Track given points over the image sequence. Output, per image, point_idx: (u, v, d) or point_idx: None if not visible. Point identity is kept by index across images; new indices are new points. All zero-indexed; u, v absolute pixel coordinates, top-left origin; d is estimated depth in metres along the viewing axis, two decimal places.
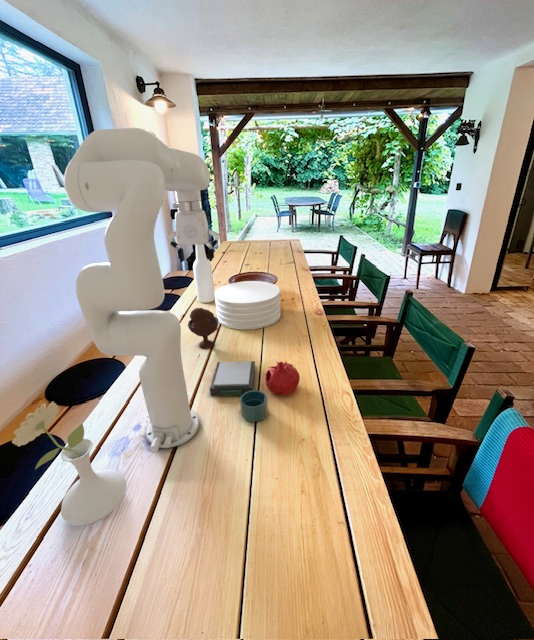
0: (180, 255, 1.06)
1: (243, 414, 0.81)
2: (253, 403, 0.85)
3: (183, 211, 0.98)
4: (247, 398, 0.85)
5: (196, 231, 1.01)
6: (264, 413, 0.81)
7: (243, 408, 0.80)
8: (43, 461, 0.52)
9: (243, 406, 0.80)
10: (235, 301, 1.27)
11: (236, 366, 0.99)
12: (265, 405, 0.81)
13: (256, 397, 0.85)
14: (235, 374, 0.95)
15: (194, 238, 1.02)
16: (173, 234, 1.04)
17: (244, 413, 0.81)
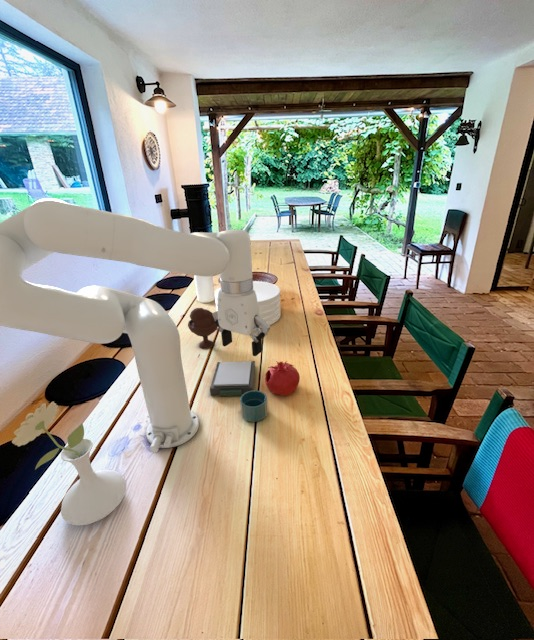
0: (223, 338, 0.82)
1: (243, 414, 0.81)
2: (253, 403, 0.85)
3: (223, 292, 0.73)
4: (247, 398, 0.85)
5: (237, 318, 0.75)
6: (264, 413, 0.81)
7: (243, 408, 0.80)
8: (43, 461, 0.52)
9: (243, 406, 0.80)
10: None
11: (236, 366, 0.99)
12: (265, 405, 0.81)
13: (256, 397, 0.85)
14: (235, 374, 0.95)
15: (235, 326, 0.76)
16: None
17: (244, 413, 0.81)
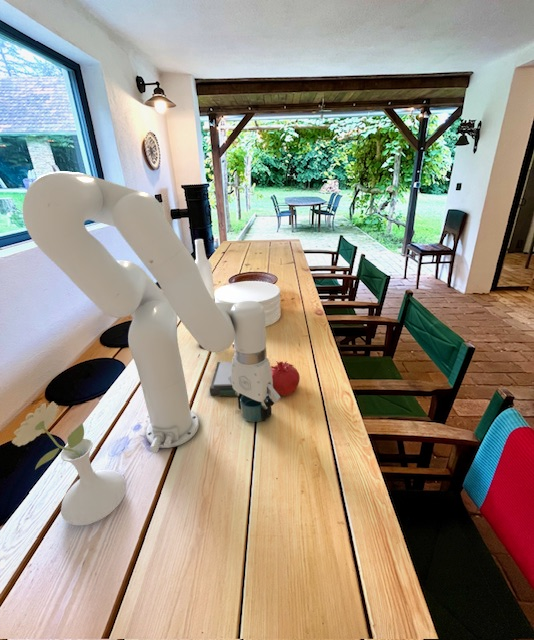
0: (239, 402, 0.84)
1: (243, 414, 0.81)
2: (253, 403, 0.85)
3: (237, 361, 0.75)
4: (247, 398, 0.85)
5: (250, 385, 0.76)
6: None
7: (243, 408, 0.80)
8: (43, 461, 0.52)
9: (243, 406, 0.80)
10: (235, 301, 1.27)
11: None
12: None
13: None
14: None
15: (248, 391, 0.78)
16: None
17: (244, 413, 0.81)
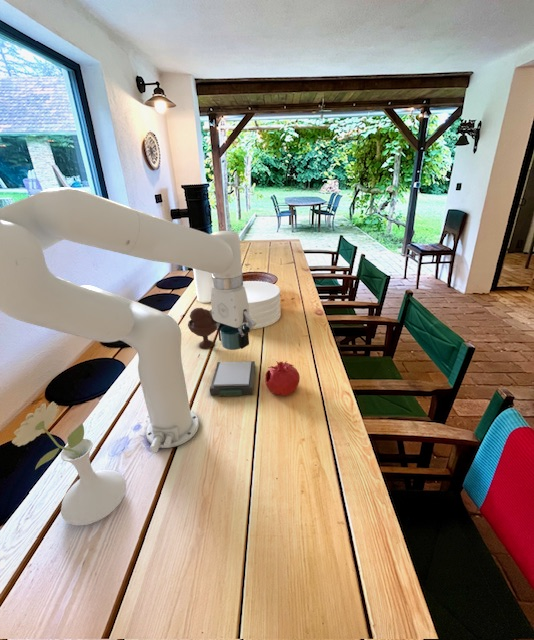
0: (219, 334, 0.89)
1: (222, 343, 0.87)
2: None
3: (215, 288, 0.80)
4: (227, 331, 0.90)
5: (228, 312, 0.82)
6: None
7: (222, 336, 0.86)
8: (43, 461, 0.52)
9: (222, 334, 0.86)
10: None
11: (236, 366, 0.99)
12: None
13: (236, 330, 0.91)
14: (235, 374, 0.95)
15: (226, 319, 0.83)
16: None
17: (223, 341, 0.86)
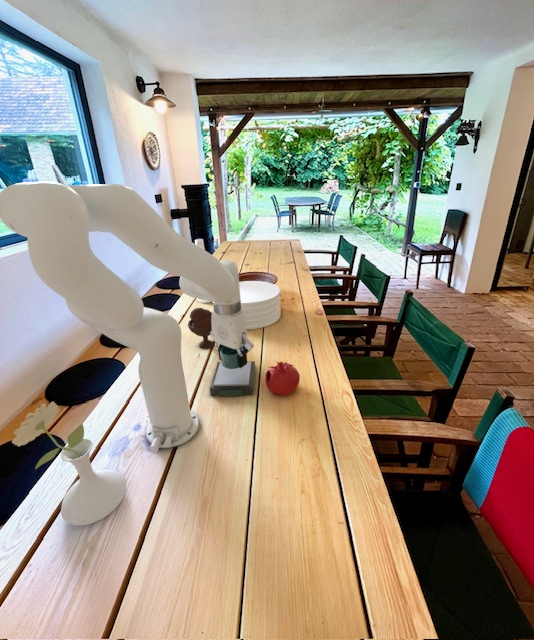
0: (219, 353, 0.95)
1: (222, 362, 0.93)
2: (232, 355, 0.97)
3: (215, 313, 0.86)
4: (227, 350, 0.96)
5: (227, 335, 0.88)
6: None
7: (222, 356, 0.92)
8: (43, 461, 0.52)
9: (222, 355, 0.92)
10: None
11: None
12: None
13: (235, 349, 0.97)
14: (235, 374, 0.95)
15: (226, 341, 0.89)
16: None
17: (223, 361, 0.92)
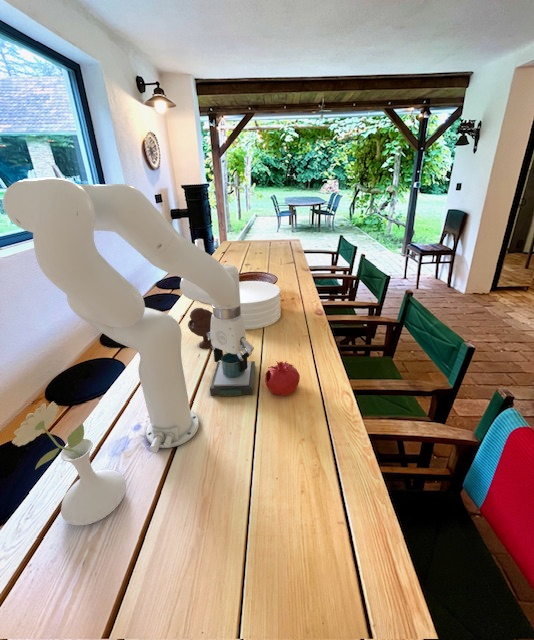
0: (214, 355, 0.95)
1: (223, 370, 0.94)
2: (233, 363, 0.98)
3: (214, 317, 0.86)
4: (227, 358, 0.97)
5: (226, 339, 0.88)
6: None
7: (223, 365, 0.93)
8: (43, 461, 0.52)
9: (223, 363, 0.93)
10: None
11: None
12: None
13: (235, 358, 0.98)
14: None
15: (224, 345, 0.89)
16: None
17: (224, 369, 0.93)
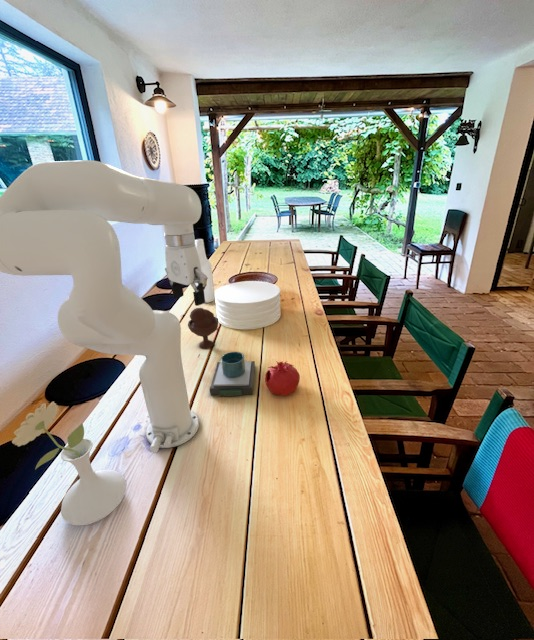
0: (173, 291, 0.93)
1: (223, 370, 0.94)
2: (233, 363, 0.98)
3: (166, 245, 0.84)
4: (227, 358, 0.97)
5: (179, 269, 0.85)
6: (241, 370, 0.94)
7: (223, 365, 0.93)
8: (43, 461, 0.52)
9: (223, 363, 0.93)
10: (235, 301, 1.27)
11: None
12: (242, 363, 0.93)
13: (235, 358, 0.98)
14: None
15: (178, 277, 0.86)
16: None
17: (224, 369, 0.93)
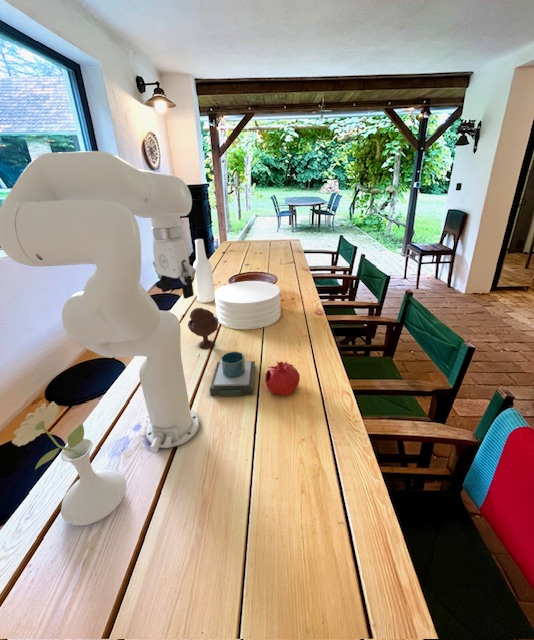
0: (161, 285, 0.93)
1: (223, 370, 0.94)
2: (233, 363, 0.98)
3: (154, 238, 0.84)
4: (227, 358, 0.97)
5: (167, 262, 0.86)
6: (241, 370, 0.94)
7: (223, 365, 0.93)
8: (43, 461, 0.52)
9: (223, 363, 0.93)
10: (235, 301, 1.27)
11: None
12: (242, 363, 0.93)
13: (235, 358, 0.98)
14: None
15: (167, 270, 0.87)
16: None
17: (224, 369, 0.93)
